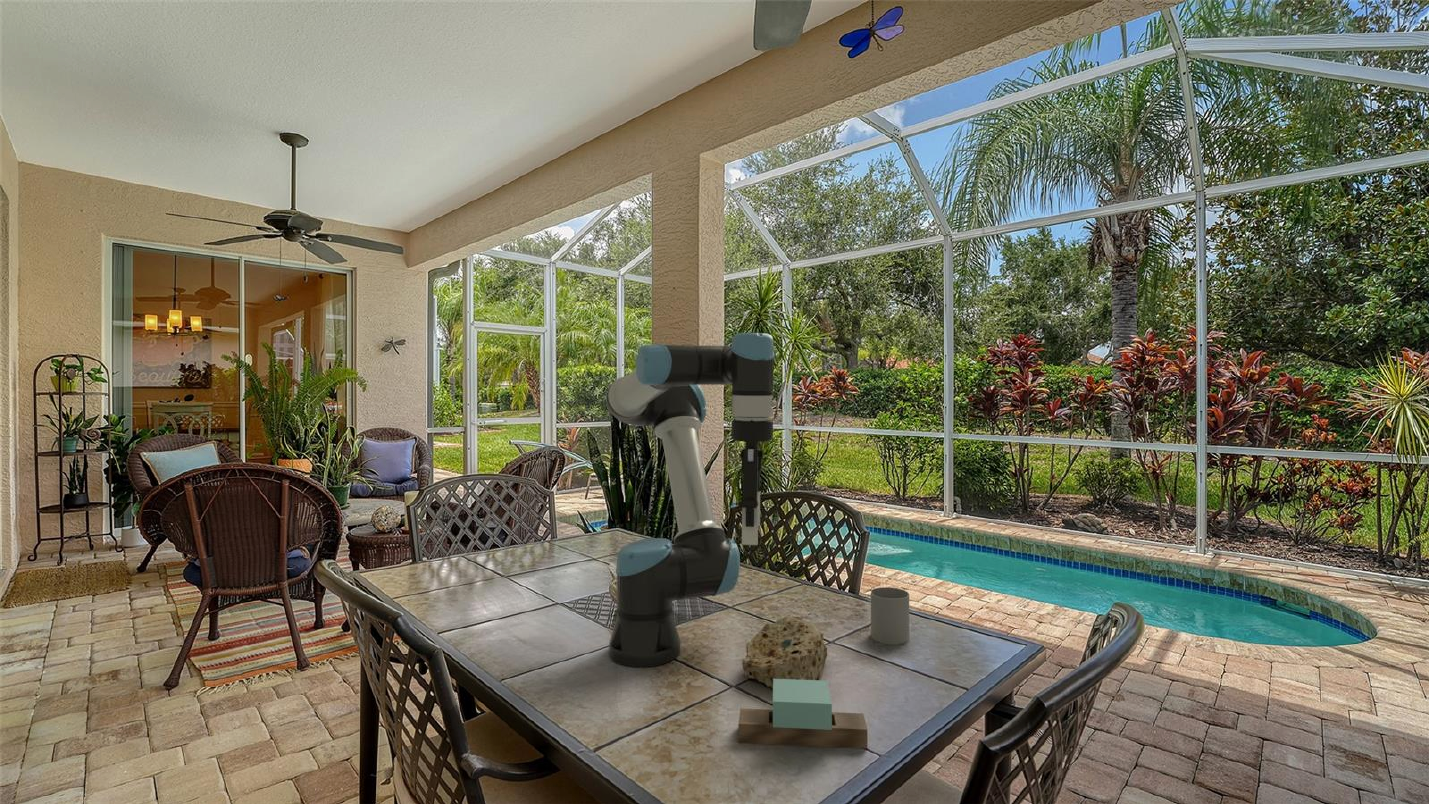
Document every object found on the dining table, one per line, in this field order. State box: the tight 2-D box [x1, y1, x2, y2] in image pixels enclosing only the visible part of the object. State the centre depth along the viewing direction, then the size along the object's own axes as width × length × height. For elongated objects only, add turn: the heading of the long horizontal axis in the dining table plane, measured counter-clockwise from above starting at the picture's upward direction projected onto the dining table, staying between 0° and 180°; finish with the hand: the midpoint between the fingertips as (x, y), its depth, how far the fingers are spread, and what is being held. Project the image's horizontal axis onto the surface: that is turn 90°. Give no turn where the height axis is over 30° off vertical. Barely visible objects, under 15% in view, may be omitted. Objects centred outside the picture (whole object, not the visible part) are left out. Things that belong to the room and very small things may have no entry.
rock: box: [741, 615, 828, 689], centre depth 129 cm, size 21×14×10 cm
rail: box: [737, 707, 868, 750], centre depth 105 cm, size 20×5×3 cm, turn 84°
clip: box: [772, 679, 833, 730], centre depth 105 cm, size 9×8×8 cm
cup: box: [870, 586, 910, 645], centre depth 146 cm, size 8×8×10 cm
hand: (751, 534), depth 119 cm, fingers open, 13 cm apart
